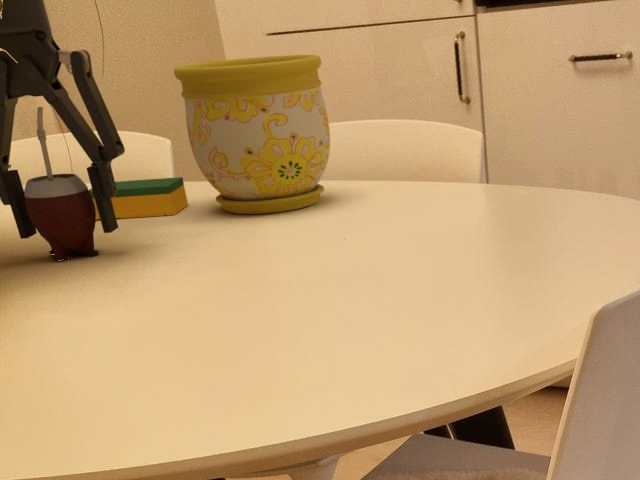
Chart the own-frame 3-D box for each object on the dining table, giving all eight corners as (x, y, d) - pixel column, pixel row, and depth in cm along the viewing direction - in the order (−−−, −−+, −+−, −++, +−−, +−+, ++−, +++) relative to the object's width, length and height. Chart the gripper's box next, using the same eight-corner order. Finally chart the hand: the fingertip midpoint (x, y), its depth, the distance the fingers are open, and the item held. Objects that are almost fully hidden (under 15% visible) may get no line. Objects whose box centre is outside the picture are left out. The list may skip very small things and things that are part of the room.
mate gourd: (69, 247, 111) (26, 101, 102) (125, 248, 108) (86, 98, 100) (25, 263, 105) (-24, 109, 96) (84, 264, 103) (39, 107, 94)
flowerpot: (367, 195, 127) (350, 52, 118) (270, 223, 115) (242, 66, 106) (274, 189, 136) (251, 56, 127) (175, 214, 125) (142, 69, 115)
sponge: (93, 220, 125) (85, 191, 123) (110, 210, 130) (102, 182, 128) (175, 214, 124) (168, 185, 122) (188, 204, 130) (182, 177, 128)
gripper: (118, -21, 95) (173, 219, 108) (-89, -5, 96) (-10, 232, 109) (93, -21, 89) (155, 233, 102) (-128, -4, 90) (-39, 246, 103)
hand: (70, 232), depth 105 cm, fingers open, 9 cm apart
